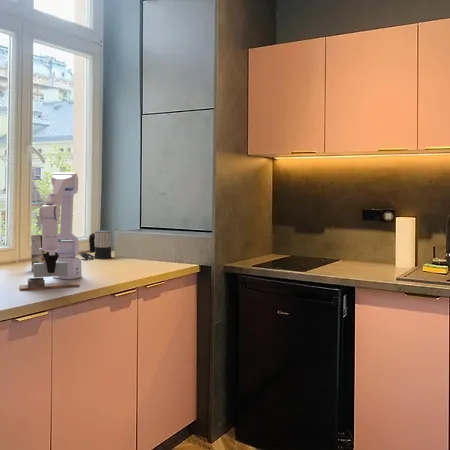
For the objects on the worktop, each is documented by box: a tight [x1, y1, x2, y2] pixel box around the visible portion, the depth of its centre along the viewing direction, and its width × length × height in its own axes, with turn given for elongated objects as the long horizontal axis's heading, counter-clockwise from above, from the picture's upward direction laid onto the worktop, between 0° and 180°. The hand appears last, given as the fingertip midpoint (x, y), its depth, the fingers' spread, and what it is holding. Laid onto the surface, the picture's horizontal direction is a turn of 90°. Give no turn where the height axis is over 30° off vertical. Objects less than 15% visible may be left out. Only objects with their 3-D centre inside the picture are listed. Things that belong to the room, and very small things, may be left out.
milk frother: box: [79, 230, 112, 261], centre depth 282 cm, size 14×16×15 cm
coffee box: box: [30, 234, 47, 271], centre depth 244 cm, size 9×6×16 cm
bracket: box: [19, 277, 80, 292], centre depth 199 cm, size 21×8×3 cm, turn 113°
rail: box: [33, 262, 68, 278], centre depth 199 cm, size 12×3×5 cm, turn 113°
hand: (50, 272), depth 199 cm, fingers closed on rail, 3 cm apart
